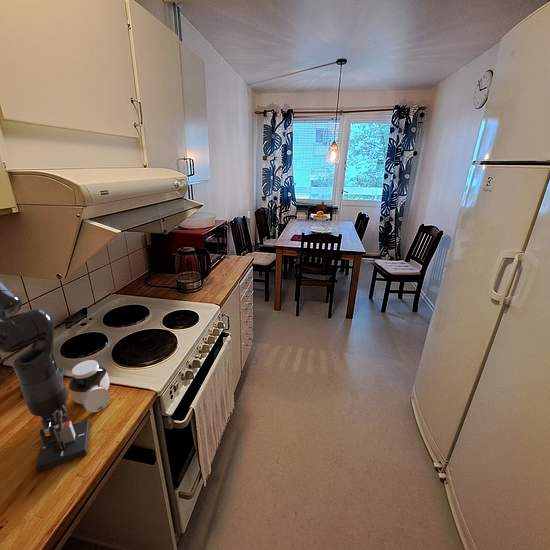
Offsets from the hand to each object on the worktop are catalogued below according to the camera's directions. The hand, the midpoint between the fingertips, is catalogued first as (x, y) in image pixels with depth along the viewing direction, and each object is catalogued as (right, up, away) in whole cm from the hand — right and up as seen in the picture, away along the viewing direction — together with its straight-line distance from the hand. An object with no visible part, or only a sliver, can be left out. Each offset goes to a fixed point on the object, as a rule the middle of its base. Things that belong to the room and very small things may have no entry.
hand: (62, 438), depth 74 cm
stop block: (-22, +6, +22) cm, 32 cm away
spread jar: (-2, +3, +16) cm, 17 cm away
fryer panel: (0, -3, +1) cm, 4 cm away
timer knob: (0, -1, +1) cm, 1 cm away
